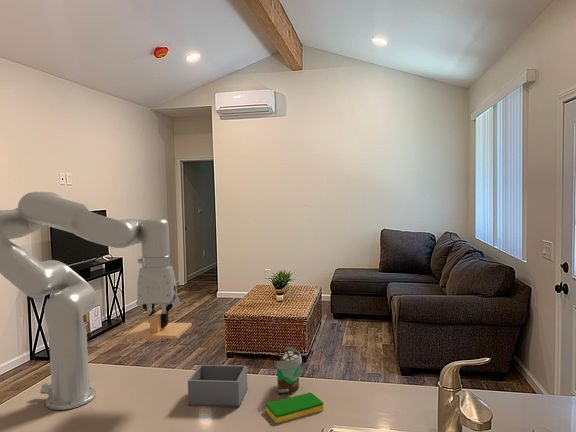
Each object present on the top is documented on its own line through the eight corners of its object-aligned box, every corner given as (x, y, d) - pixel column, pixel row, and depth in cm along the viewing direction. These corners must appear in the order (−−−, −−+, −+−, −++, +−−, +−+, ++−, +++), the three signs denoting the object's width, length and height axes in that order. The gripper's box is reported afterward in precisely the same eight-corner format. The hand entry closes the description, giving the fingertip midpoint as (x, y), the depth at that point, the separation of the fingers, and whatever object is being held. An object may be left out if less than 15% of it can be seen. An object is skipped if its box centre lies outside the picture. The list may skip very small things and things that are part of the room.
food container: (298, 398, 119) (297, 363, 119) (277, 397, 120) (276, 362, 120) (305, 379, 131) (305, 347, 131) (286, 378, 132) (285, 346, 132)
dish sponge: (324, 411, 113) (324, 402, 112) (276, 425, 106) (276, 415, 106) (311, 400, 119) (310, 391, 119) (265, 412, 113) (264, 403, 113)
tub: (188, 406, 116) (187, 380, 116) (201, 387, 127) (200, 364, 127) (239, 407, 115) (238, 382, 115) (247, 389, 126) (246, 365, 125)
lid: (124, 342, 117) (123, 318, 117) (143, 329, 129) (143, 307, 129) (177, 343, 115) (176, 319, 115) (192, 329, 127) (191, 307, 127)
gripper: (122, 265, 118) (126, 330, 119) (179, 264, 117) (181, 331, 117) (135, 260, 126) (138, 322, 127) (188, 260, 124) (191, 322, 125)
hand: (159, 326), depth 122 cm, fingers closed on lid
